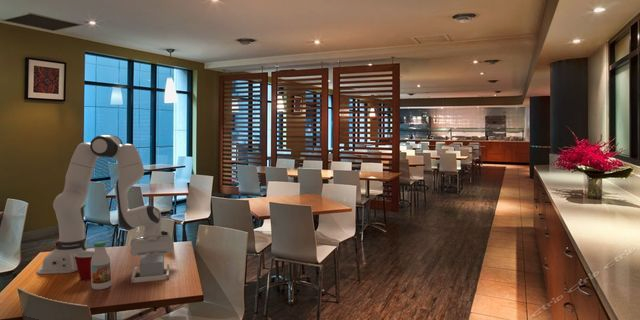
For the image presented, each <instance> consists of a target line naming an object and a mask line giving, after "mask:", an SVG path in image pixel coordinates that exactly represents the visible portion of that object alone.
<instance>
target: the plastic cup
mask: <svg viewBox="0 0 640 320" xmlns="http://www.w3.org/2000/svg"><path fill="white" fill-rule="evenodd" d="M93 254H94V250H93V251H91V250H90V251H88V250H87V252H79V253H75V254H74V257H75V260H76V264H77V268H78V270H77V272H78V275H79V279H80V280H81V281H91V259H92V256H93Z"/></svg>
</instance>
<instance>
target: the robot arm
mask: <svg viewBox="0 0 640 320" xmlns="http://www.w3.org/2000/svg"><path fill="white" fill-rule="evenodd" d="M101 157H102V158H114V159H115V161H116V162H117V165H118V169H119V178H118V179H117V180H116V182H115V189H116V190H115V191H116V199H117V209H118V223H119V226H120V227H121V228H122V229H124V230H126V231H131V230H134V229H136V228H140V227H142V226H143V227H144V229H143V237H134V238H132V239H131V240H130V243H129V245H130V251H129V252H130V255H131V256H132V257H134V256H137V257H138V256H143V255H155V254H172V253H173V252H174V242H173V239H172V235H171V234H172V233H171V232H170V231H165V230H162V224H163V221H162V220H163V219H162V214H161V213H162V211H161V210H160V209H159V208H158V207H155V206H153V205H152V204H144V205H142V206H138V207H134V208H131V209H130V208H129V207H130V206H129V198H128V192H129V190H130V189H131V188H132V187H133V186H134V185H136V184H138V183H139V182H140V181H141V180H142V179H143V177H144V174H145V168H144V165H143V161H142V157H141V155H140V153H139V151H138V150H137V148H136V146H135V145H134V144H133V143H123V140H121V139H120V137H118V136H116V135H113V134H100V135H97V136H95V137H94V138H92V140H91V141H90V142H86V141H85V142H81V143H79V144H78V145H77V147H76V148H75V150H74V152H73V154H72V157H71V159H70V162H69V165H68V169H67V171H66V174H65V182H64V187H63V190H62V192H61V193H59V194H58V195H57V196H56V197H55V198H54V200H53V202H52V207H53V210H54V212H55V215H56V220H57V224H58V235H59V236H58V237H59V239H57V240H56V241H55V243H54V248H55V249H53V250H52V251H50V252H49V253H48V254H47V255H46V256H45V257H44V258H43V260H42V265H41V266H40V267H38V269H37V270H36V273H37V274H38V275H49V274H50V275H53V274H71V273H73V272H74V273H75V272H78V268H77V264H76V260H75V257H74V254H75V253H79V252H86V250H87V237H86V238H85V235H84V224H85V222H84V219H83V216H82V211H81V210H82V209H81V208H83V207H84V206H85V204H86V202H87V197H88V193H89V188H90V183H91V180H92V177H93V173H94V171H95V168H96V165H97V161H98V159H99V158H101Z"/></svg>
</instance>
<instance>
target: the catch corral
mask: <svg viewBox="0 0 640 320" xmlns="http://www.w3.org/2000/svg"><path fill="white" fill-rule="evenodd" d="M137 274H138V267H137V266H135V267H134V268H133V272H132V275H131V278H130V279H131V280H130V282H131V284H133V283H143V282H153V281H162V280H169V279H170V263H168V264H166V274H164V275H156V276H145V277H140V276H137ZM136 276H137V277H136Z"/></svg>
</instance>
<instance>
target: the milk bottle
mask: <svg viewBox="0 0 640 320" xmlns="http://www.w3.org/2000/svg"><path fill="white" fill-rule="evenodd" d="M93 249H94V250H93V252H94V254H93V256H92V259H91V279H90V281H91V289H92V290H95V291H96V290H104V289H105V290H106V289H107V288H110V287H111V285H112V276H111V274H112V273H111V258H110V256H109V254H108V252H107V249H106V241H103V240H102V241H101V240H99V241H95V242H94V243H93Z"/></svg>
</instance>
